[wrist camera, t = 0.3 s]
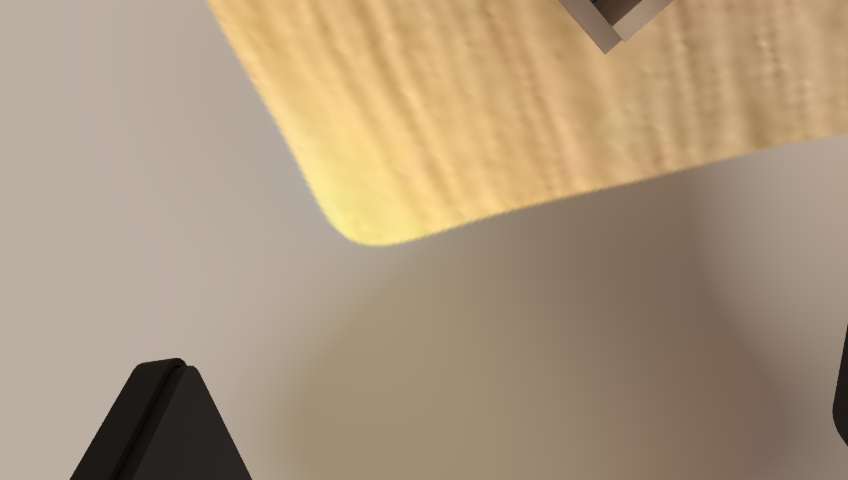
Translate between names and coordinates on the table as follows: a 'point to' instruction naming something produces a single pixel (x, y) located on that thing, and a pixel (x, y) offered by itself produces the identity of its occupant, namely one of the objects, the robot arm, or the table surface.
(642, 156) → the table surface
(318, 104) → the table surface
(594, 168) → the table surface
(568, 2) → the trap box
